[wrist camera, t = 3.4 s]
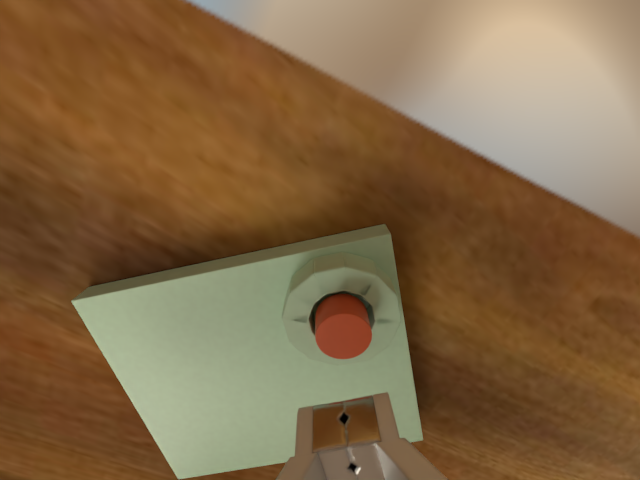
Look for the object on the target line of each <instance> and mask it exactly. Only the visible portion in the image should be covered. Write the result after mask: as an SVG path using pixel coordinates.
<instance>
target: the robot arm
mask: <svg viewBox="0 0 640 480" xmlns="http://www.w3.org/2000/svg"><path fill="white" fill-rule="evenodd" d="M276 480H448V479H447V478H446V477H445V476H444V475H443V474H442V473H441V472H440V471H439V470H438V469H437V468H436V467H435V466H434V465H433V464H432V463H431V462H430V461H428V460H427V459H426V458H425V457H424V456H423V455H422V454H421V453H420V452H419V451H418V450H417V449H416V448H415V447H414V446H413V445H412V444H411V443H410V442H409V441H408V440H407V439H406V438H400V437H399V433H398V429H397V425H396V421H395V417H394V413H393V409H392V405H391V401H390V397H389V394H388V392H386V393H380V394H375V395H373V396H372V395H369V396H364V397H358V398H353V399H348V400H343V401H340V402H333V403H327V404H320V405H314V406H308V407H302V408H299V409H298V412H297V425H296V441H295V456H294V457H290V458H289V460H288V461H287V463H286V464H285V466H284V468H283V469H282V471H281V472H280V474H279V475H278V477H277V478H276Z"/></svg>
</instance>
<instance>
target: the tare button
mask: <svg viewBox="0 0 640 480" xmlns="http://www.w3.org/2000/svg"><path fill="white" fill-rule="evenodd" d="M315 339H316V343H317V345H318V347H319V349H320V350H321V351H322V352H323V353H324V354H326V355H328V356H330V357H332V358H336V359H350V358H354V357H356V356H358V355H360V354H362V353H363V352H364V351H365V350H366V349H367V348H368V347H369V345H370V343H371V340H372V330H371V326H370V322H369V317H368V313H367V309H366V307H365V305H364V304H363V302H362V301H361V300H359V299H358V298H356V297H355V296H352V295H349V294H335V295H332V296H329V297H328V298H326V299H324V300H323V301H322V302H321V303H320V304H319V306H318V308H317V310H316V315H315Z"/></svg>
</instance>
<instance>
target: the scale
mask: <svg viewBox="0 0 640 480" xmlns="http://www.w3.org/2000/svg"><path fill="white" fill-rule="evenodd" d="M335 294H349V295H352V296H355V297H356V298H358V299H359V300H361V301H362V302H363V304H364V305H365V307H366V309H367V313H368V317H369V322H370V326H371V330H372V340H371V343H370V345H369V347H368V348H367V349H366V350H365V351H364V352H363V353H362V354H360V355H358V356H356V357H354V358H350V359H336V358H332V357H330V356H328V355H326V354H324V353H323V352H322V351H321V350H320V349H319V347H318V345H317V343H316V339H315V315H316V310H317V308H318V306H319V304H320V303H321V302H322V301H323V300H324V299H326V298H328V297H329V296H332V295H335ZM71 302H72V303H73V305H74V307H75V308H76V310H77V312H78V313H79V315H80V317H81V318H82V320H83V322H84V323H85V325H86V327H87V328H88V330H89V332H90V333H91V335H92V337H93V338H94V340H95V342H96V343H97V345H98V347H99V348H100V350H101V352H102V353H103V355H104V357H105V358H106V360H107V362H108V363H109V365H110V367H111V368H112V370H113V372H114V373H115V375H116V377H117V378H118V380H119V382H120V383H121V385H122V387H123V388H124V390H125V392H126V393H127V395H128V397H129V398H130V400H131V402H132V403H133V405H134V407H135V408H136V410H137V411H138V413H139V415H140V416H141V418H142V420H143V421H144V423H145V425H146V426H147V428H148V430H149V431H150V433H151V435H152V436H153V438H154V440H155V441H156V443H157V445H158V446H159V448H160V450H161V451H162V453H163V455H164V456H165V458H166V460H167V461H168V463H169V465H170V466H171V468H172V470H173V471H174V473H175V475H176V476H177V478H178V479H184V478H190V477H196V476H203V475H209V474H215V473H221V472H228V471H234V470H240V469H247V468H253V467H259V466H265V465H272V464H278V463H284V462H287V461H288V460H289V458H290V457H294V456H295V441H296V425H297V412H298V409H299V408H302V407H308V406H314V405H320V404H327V403H333V402H340V401H343V400H348V399H353V398H358V397H364V396H369V395H372V396H373V395H375V394H380V393H386V392H388V394H389V397H390V401H391V405H392V409H393V413H394V417H395V421H396V425H397V429H398V433H399V437H400V438H406V439H407V440H408V441H409V442H416V441H422V440H423V435H422V429H421V423H420V416H419V410H418V404H417V397H416V391H415V384H414V378H413V372H412V365H411V359H410V353H409V346H408V340H407V334H406V327H405V321H404V314H403V308H402V302H401V295H400V289H399V283H398V276H397V270H396V264H395V257H394V251H393V244H392V238H391V234H390V232H389V230H388V228H387V226H386V224H382V225H377V226H372V227H368V228H363V229H358V230H353V231H349V232H344V233H339V234H335V235H330V236H325V237H321V238H316V239H311V240H306V241H302V242H297V243H292V244H288V245H283V246H278V247H274V248H269V249H264V250H260V251H255V252H250V253H245V254H241V255H236V256H231V257H227V258H222V259H217V260H213V261H208V262H203V263H199V264H194V265H189V266H184V267H180V268H175V269H170V270H166V271H161V272H156V273H152V274H147V275H142V276H138V277H133V278H128V279H123V280H119V281H114V282H109V283H105V284H100V285H95V286H91V287H88V288H87V289H85V290H84V291H83V292H82V293H81V294H79V295H78V296H77V297H76V298H74V299H73V300H72V301H71Z"/></svg>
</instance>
